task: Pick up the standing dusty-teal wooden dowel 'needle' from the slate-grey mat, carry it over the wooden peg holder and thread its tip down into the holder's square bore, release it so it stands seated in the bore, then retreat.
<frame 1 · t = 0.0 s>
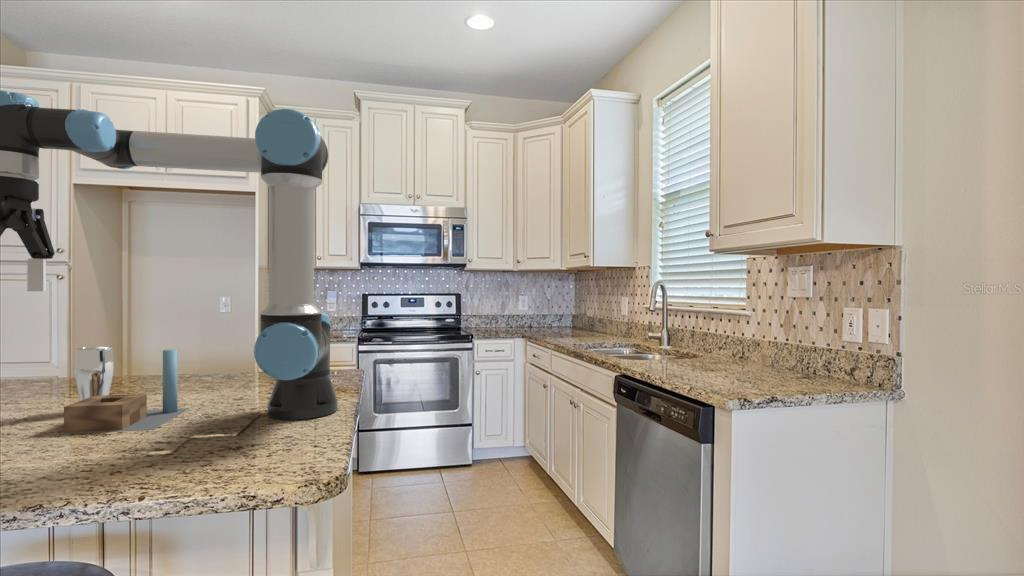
hand: (11, 292, 96), 28 cm above the countertop, fingers open, 13 cm apart
mat: (131, 422, 109), on the countertop
wooden peg holder: (107, 424, 106), resting on mat
beer glass: (94, 414, 116), on the countertop
dowel: (170, 411, 116), point 1 cm above the countertop, touching mat
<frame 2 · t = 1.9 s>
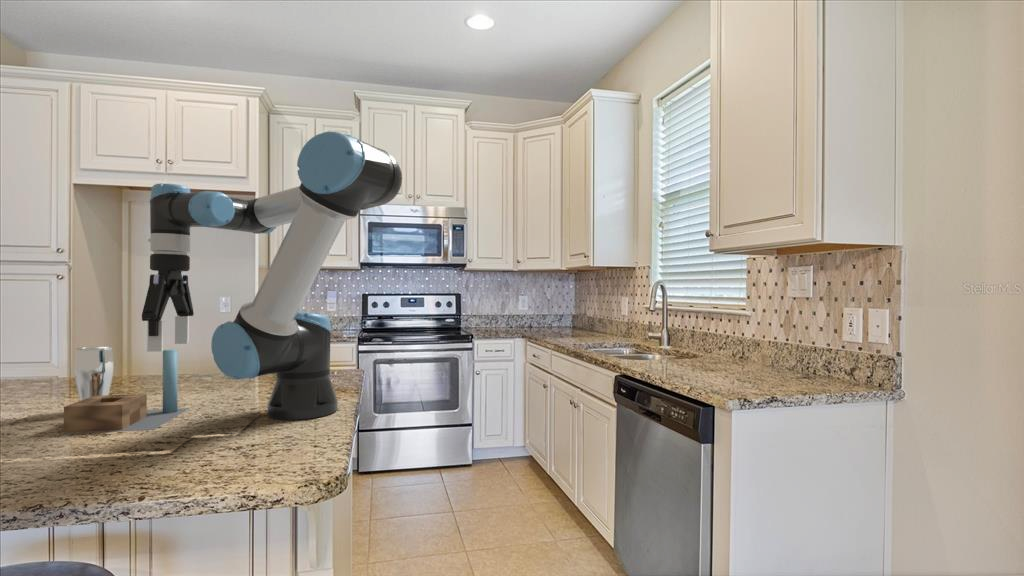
hand: (169, 347, 116), 15 cm above the countertop, fingers open, 13 cm apart
nothing on the countertop moved.
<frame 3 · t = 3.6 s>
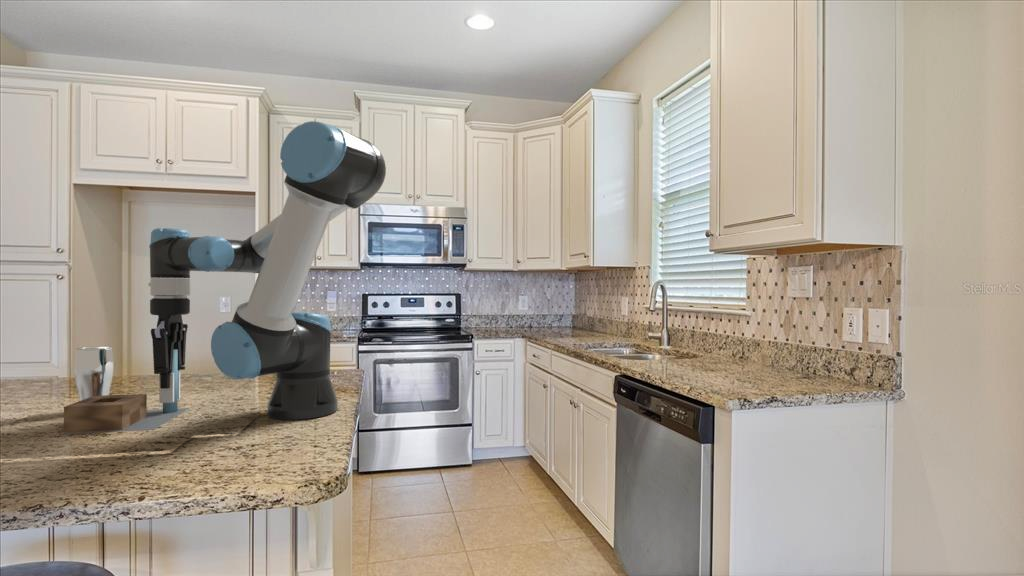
hand: (170, 400, 116), 3 cm above the countertop, fingers closed on dowel, 3 cm apart
dowel: (170, 411, 116), point 1 cm above the countertop, touching gripper, mat
everything else where it was.
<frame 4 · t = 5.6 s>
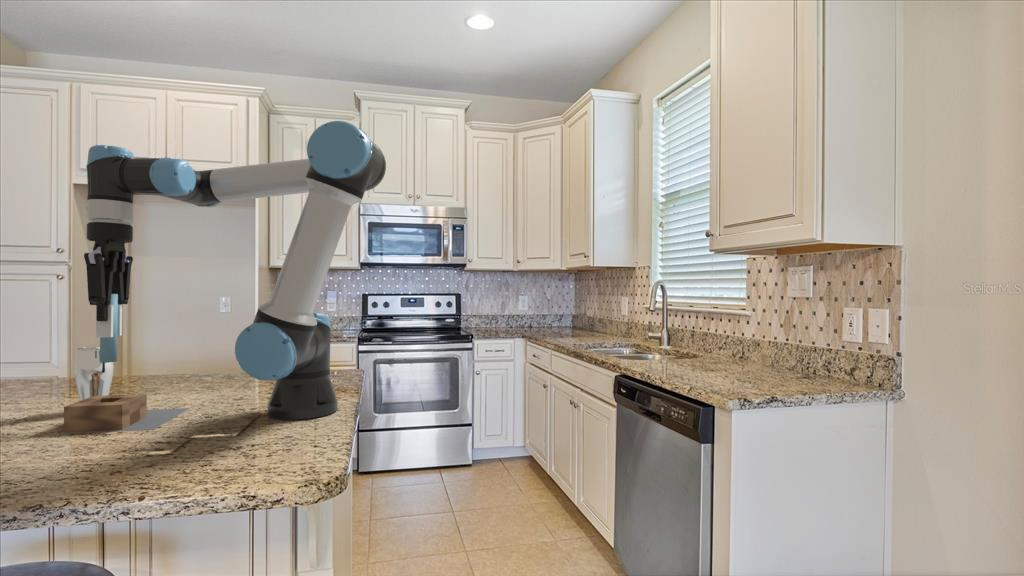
hand: (109, 336, 106), 19 cm above the countertop, fingers closed on dowel, 3 cm apart
dowel: (108, 361, 106), point 13 cm above the countertop, touching gripper
everything else where it was.
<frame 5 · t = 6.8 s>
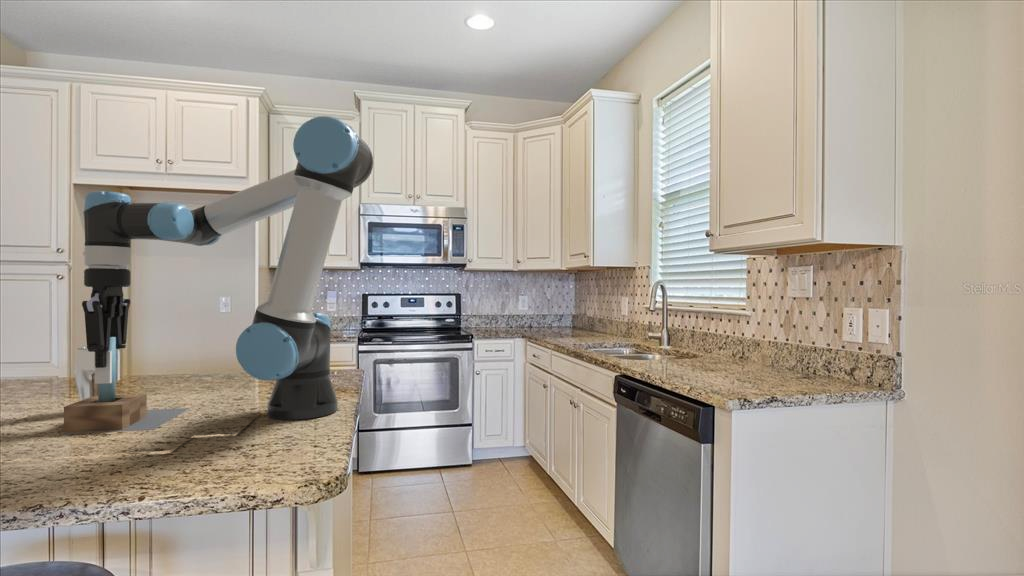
hand: (107, 381, 106), 9 cm above the countertop, fingers closed on dowel, 2 cm apart
dowel: (106, 405, 106), point 5 cm above the countertop, touching gripper
everything else where it was.
when the fingers open (6 cm above the countertop, at t = 7.6 s): dowel drops 1 cm, resting on mat.
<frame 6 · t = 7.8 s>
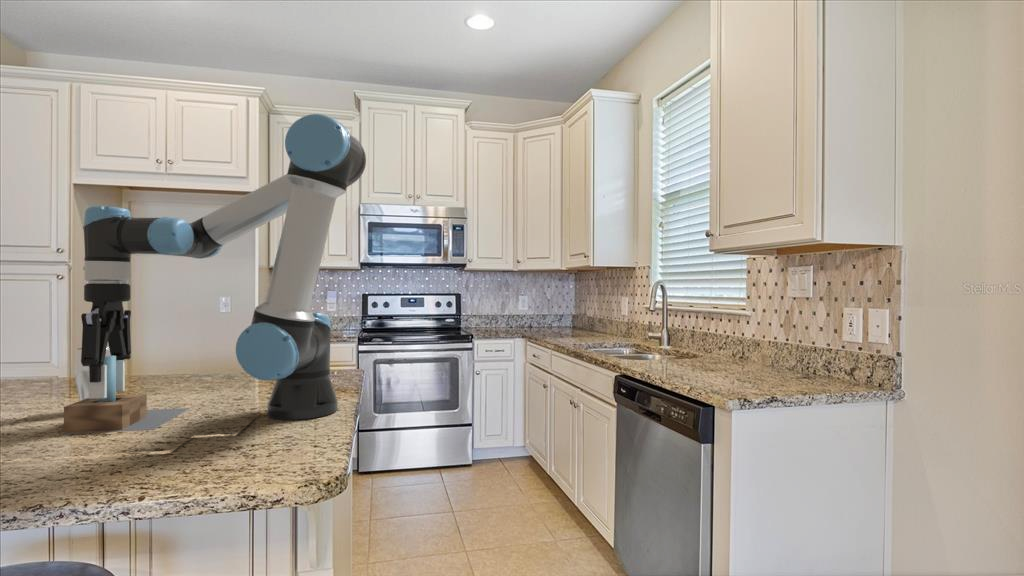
hand: (107, 394, 106), 7 cm above the countertop, fingers open, 6 cm apart
dowel: (107, 424, 106), point 1 cm above the countertop, touching mat
everything else where it was.
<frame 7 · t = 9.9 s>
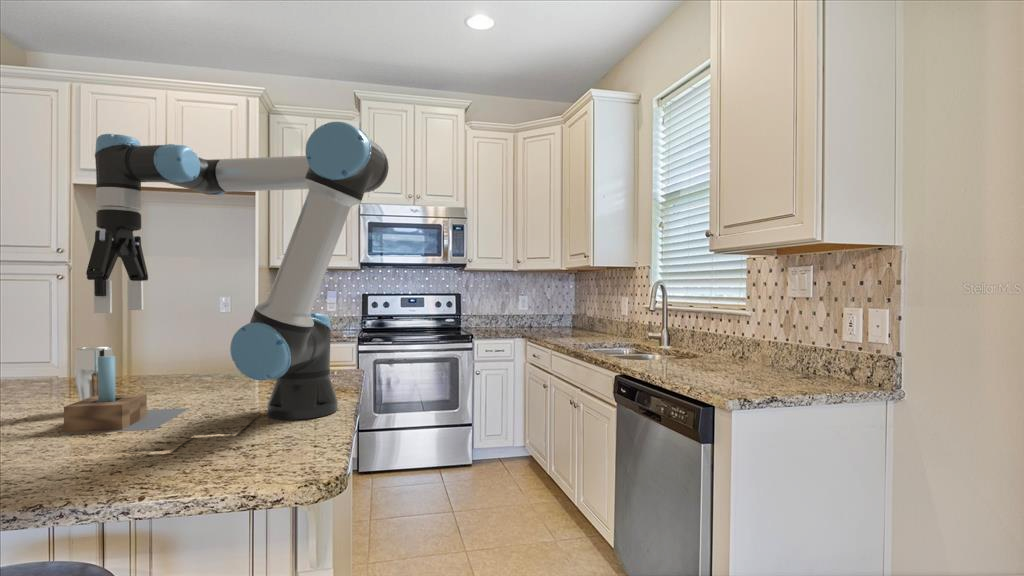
hand: (120, 311, 108), 24 cm above the countertop, fingers open, 13 cm apart
nothing on the countertop moved.
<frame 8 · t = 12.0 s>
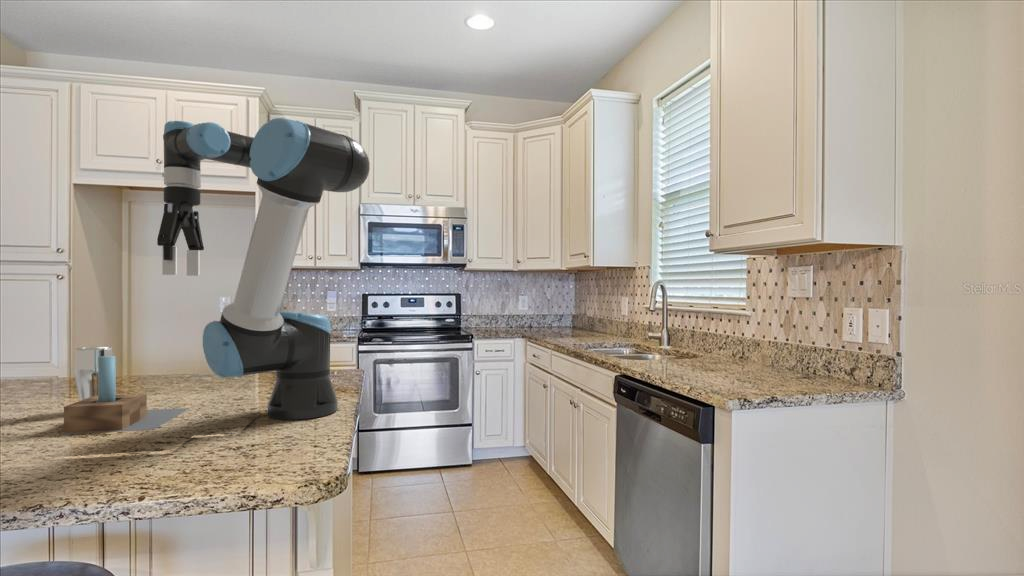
hand: (182, 275, 125), 32 cm above the countertop, fingers open, 13 cm apart
nothing on the countertop moved.
at the end: dowel 0.1 cm off-centre on the wooden peg holder, point 0.0 cm above the wooden peg holder's base; dowel tilted 1°; the gripper is holding nothing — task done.
